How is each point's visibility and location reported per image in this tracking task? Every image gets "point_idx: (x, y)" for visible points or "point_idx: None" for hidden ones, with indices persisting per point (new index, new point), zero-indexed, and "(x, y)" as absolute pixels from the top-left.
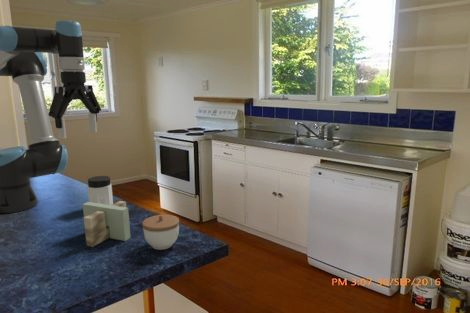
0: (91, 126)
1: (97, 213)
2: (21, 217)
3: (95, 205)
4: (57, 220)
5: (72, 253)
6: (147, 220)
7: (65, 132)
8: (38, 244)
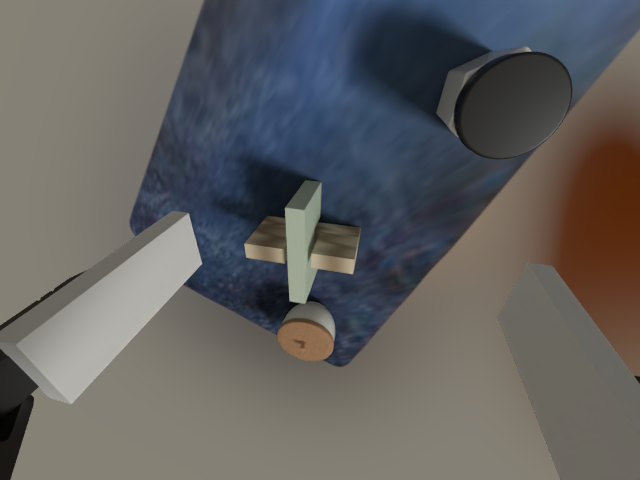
0: (537, 327)
1: (271, 256)
2: None
3: (290, 240)
4: (347, 33)
5: (238, 211)
6: (297, 328)
7: (172, 290)
8: (229, 123)
